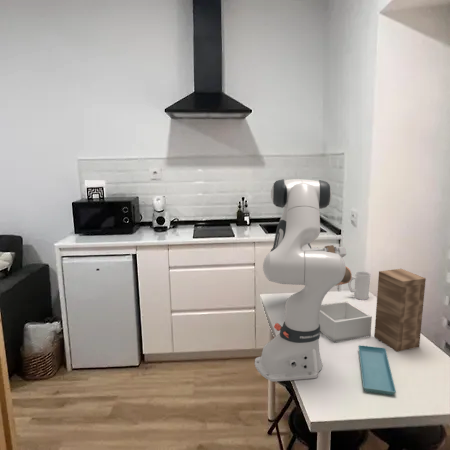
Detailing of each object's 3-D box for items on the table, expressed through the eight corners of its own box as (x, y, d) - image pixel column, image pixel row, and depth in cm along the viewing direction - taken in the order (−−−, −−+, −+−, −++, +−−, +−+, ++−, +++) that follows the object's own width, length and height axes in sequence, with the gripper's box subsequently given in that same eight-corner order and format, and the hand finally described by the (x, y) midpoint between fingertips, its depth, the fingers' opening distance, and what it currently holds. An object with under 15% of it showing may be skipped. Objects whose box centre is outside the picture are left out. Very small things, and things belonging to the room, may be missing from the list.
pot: (343, 284, 164) (353, 282, 158) (328, 286, 162) (337, 284, 156) (335, 245, 168) (344, 242, 161) (320, 247, 166) (329, 243, 159)
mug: (365, 294, 199) (367, 271, 197) (371, 300, 193) (372, 275, 190) (345, 295, 199) (346, 271, 197) (349, 300, 192) (351, 276, 190)
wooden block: (396, 351, 145) (402, 281, 140) (374, 336, 157) (379, 271, 151) (419, 347, 149) (425, 278, 143) (395, 332, 160) (401, 268, 155)
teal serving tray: (395, 398, 120) (396, 390, 119) (362, 394, 122) (363, 386, 121) (385, 354, 145) (385, 347, 144) (357, 351, 147) (358, 344, 146)
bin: (334, 342, 152) (335, 322, 151) (311, 324, 167) (312, 306, 165) (370, 336, 157) (371, 316, 156) (345, 319, 172) (346, 301, 170)
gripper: (291, 253, 174) (306, 243, 162) (333, 248, 181) (350, 239, 168) (295, 267, 172) (310, 259, 160) (337, 262, 179) (354, 254, 166)
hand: (331, 249), depth 164 cm, fingers closed on pot, 3 cm apart
